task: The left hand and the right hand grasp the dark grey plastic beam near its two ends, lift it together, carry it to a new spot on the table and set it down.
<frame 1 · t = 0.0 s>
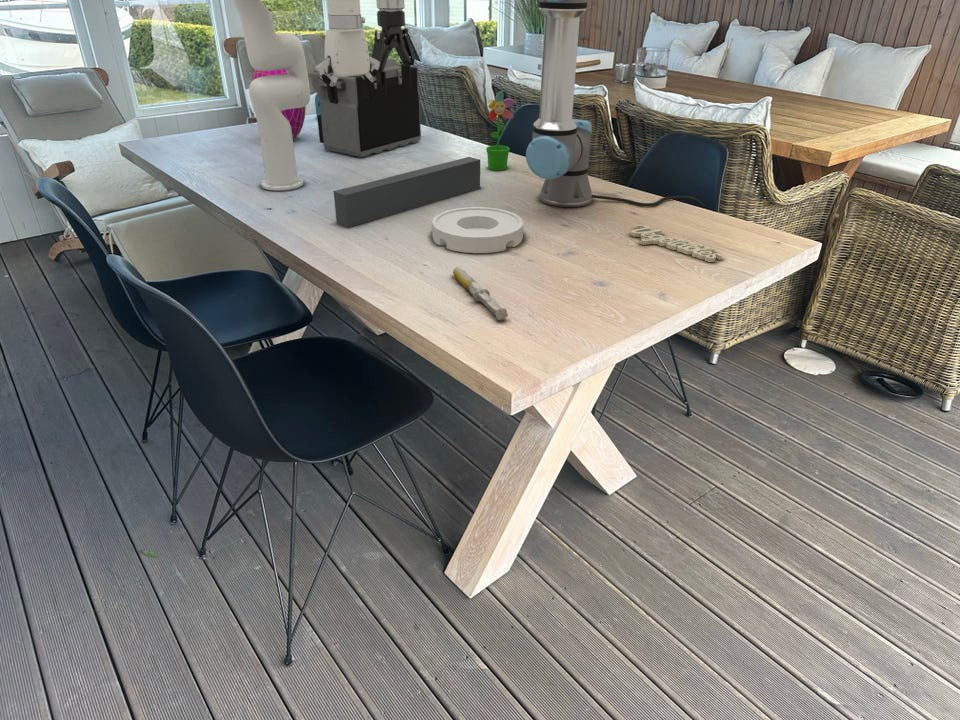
left hand: (351, 100, 168), 31 cm above the table, tool pointing down, fingers open, 9 cm apart
right hand: (394, 93, 197), 28 cm above the table, tool pointing down, fingers open, 13 cm apart
beam: (413, 204, 198), on the table
ashtray: (477, 237, 176), on the table
camera mount: (336, 120, 298), on the table
decorative sign: (670, 246, 172), on the table
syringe: (478, 297, 145), on the table
electronic device: (371, 146, 258), on the table
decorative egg: (284, 140, 265), on the table
potted flower: (498, 168, 233), on the table
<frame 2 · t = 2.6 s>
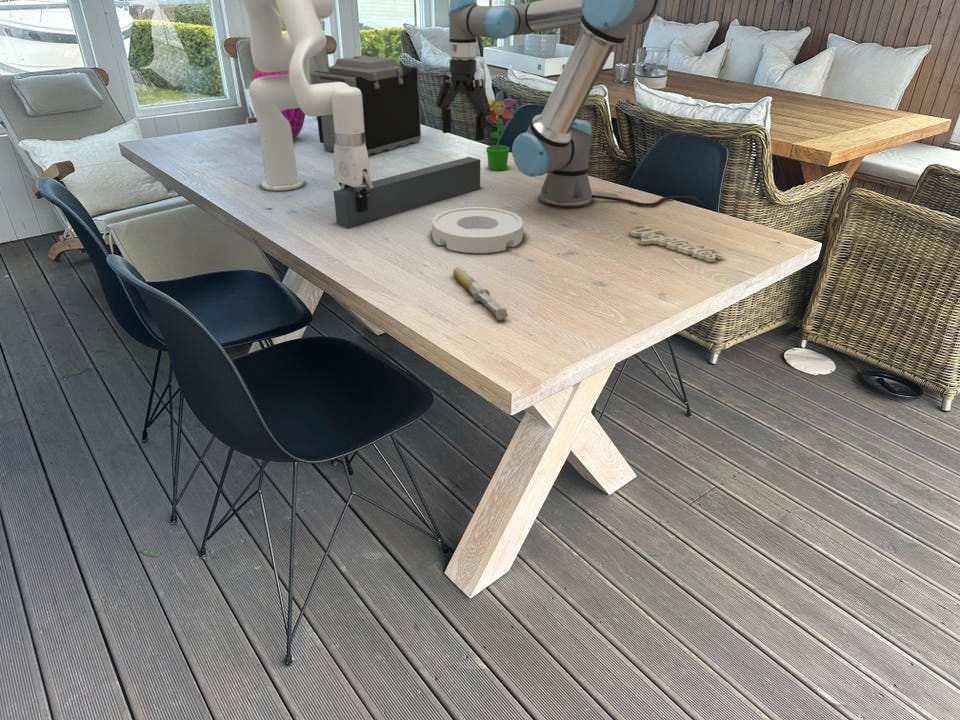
left hand: (356, 208, 184), 4 cm above the table, tool pointing down, fingers closed on beam, 5 cm apart
right hand: (463, 136, 203), 16 cm above the table, tool pointing down, fingers open, 13 cm apart
beam: (413, 204, 198), on the table, touching left hand
everything else where it was.
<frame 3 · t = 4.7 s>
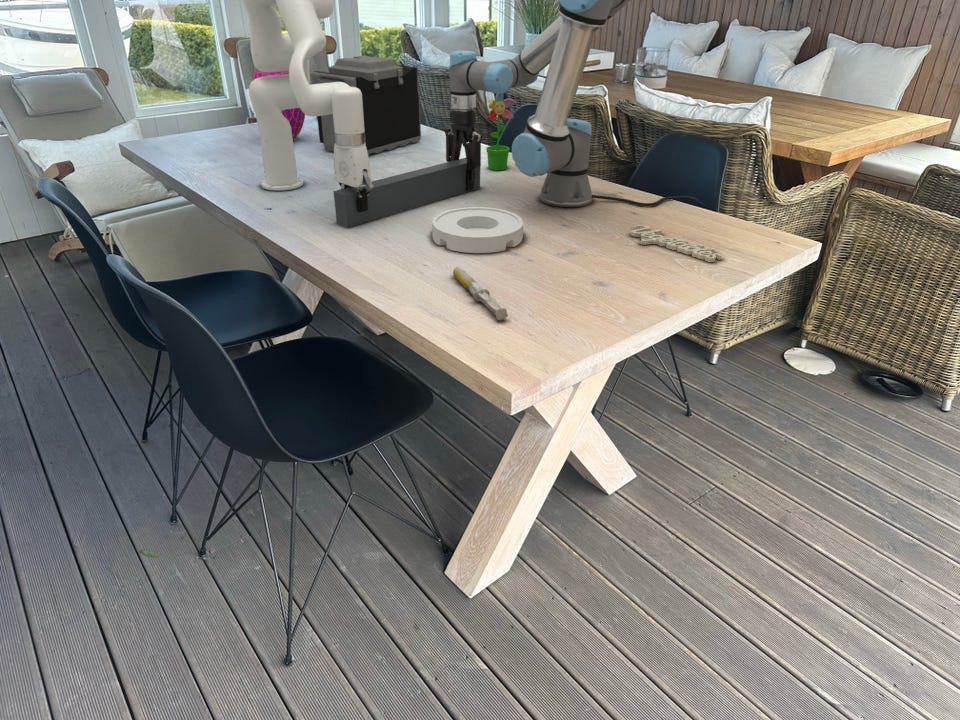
left hand: (356, 208, 184), 4 cm above the table, tool pointing down, fingers closed on beam, 5 cm apart
right hand: (463, 188, 211), 1 cm above the table, tool pointing down, fingers closed on beam, 5 cm apart
beam: (413, 204, 198), on the table, touching right hand, left hand
everything else where it was.
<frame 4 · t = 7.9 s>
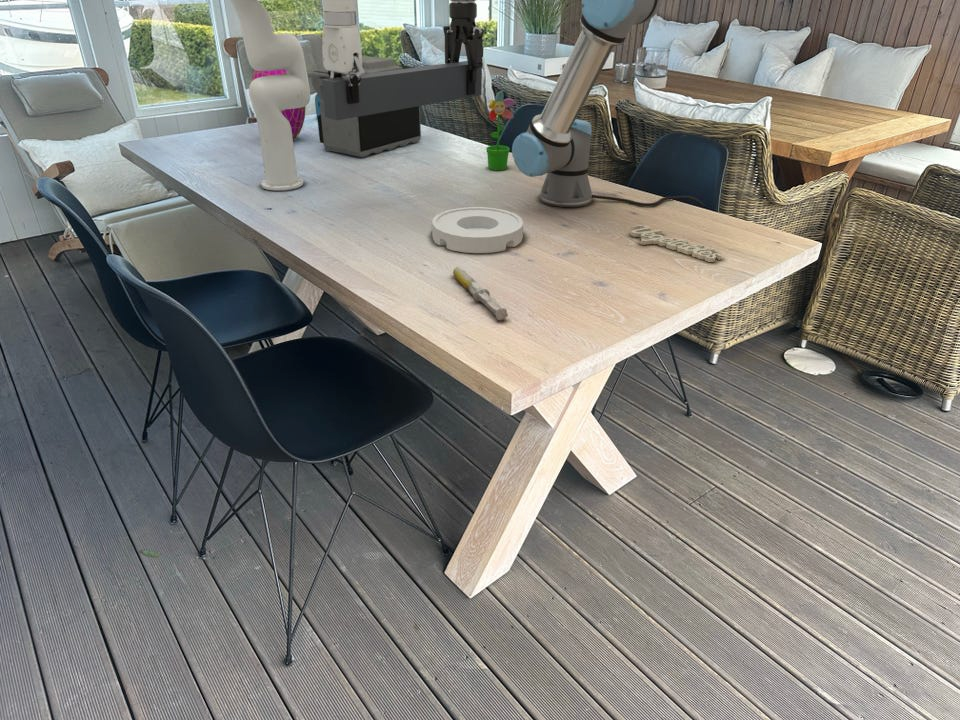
left hand: (346, 100, 170), 31 cm above the table, tool pointing down, fingers closed on beam, 5 cm apart
right hand: (463, 93, 197), 28 cm above the table, tool pointing down, fingers closed on beam, 5 cm apart
beam: (409, 105, 185), point 27 cm above the table, touching right hand, left hand
everything else where it was.
when the right hand's fingers open (2 cm above the table, at t = 13.3 s): beam drops 1 cm, on the table.
when the left hand's fingers open (5 cm above the table, at t = 13.4 s): beam stays where it is, on the table.
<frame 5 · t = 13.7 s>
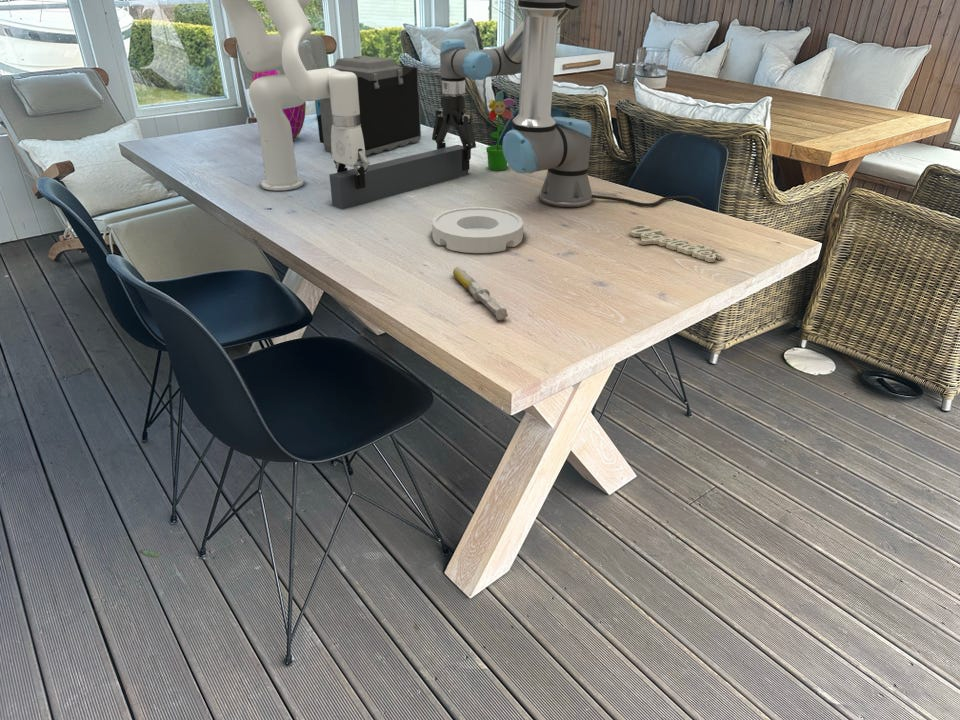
left hand: (351, 184, 196), 5 cm above the table, tool pointing down, fingers open, 7 cm apart
right hand: (453, 166, 223), 3 cm above the table, tool pointing down, fingers open, 10 cm apart
beam: (405, 188, 212), on the table
everything else where it was.
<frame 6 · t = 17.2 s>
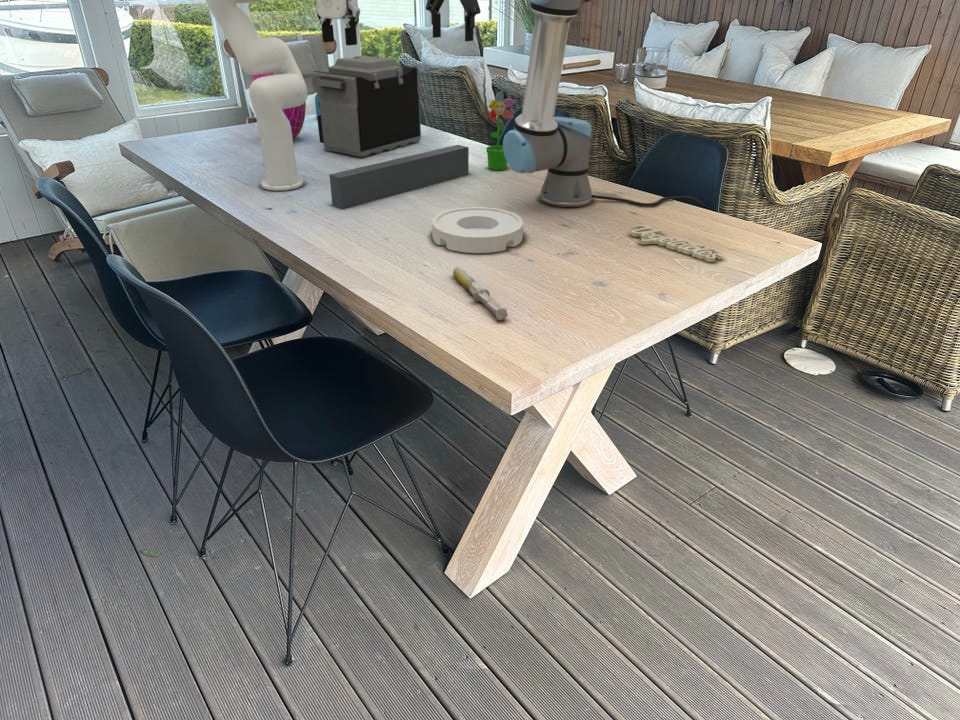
left hand: (339, 43, 177), 42 cm above the table, tool pointing down, fingers open, 9 cm apart
right hand: (452, 39, 204), 41 cm above the table, tool pointing down, fingers open, 13 cm apart
nothing on the table moved.
at the end: beam inside the target area (0.5 cm from its centre), on the table; beam tilted 0°; beam never tilted more than 2° during the clip; both hands held the beam at the same time; the left hand is holding nothing; the right hand is holding nothing; beam at rest at the end (0.0 cm/s) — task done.
